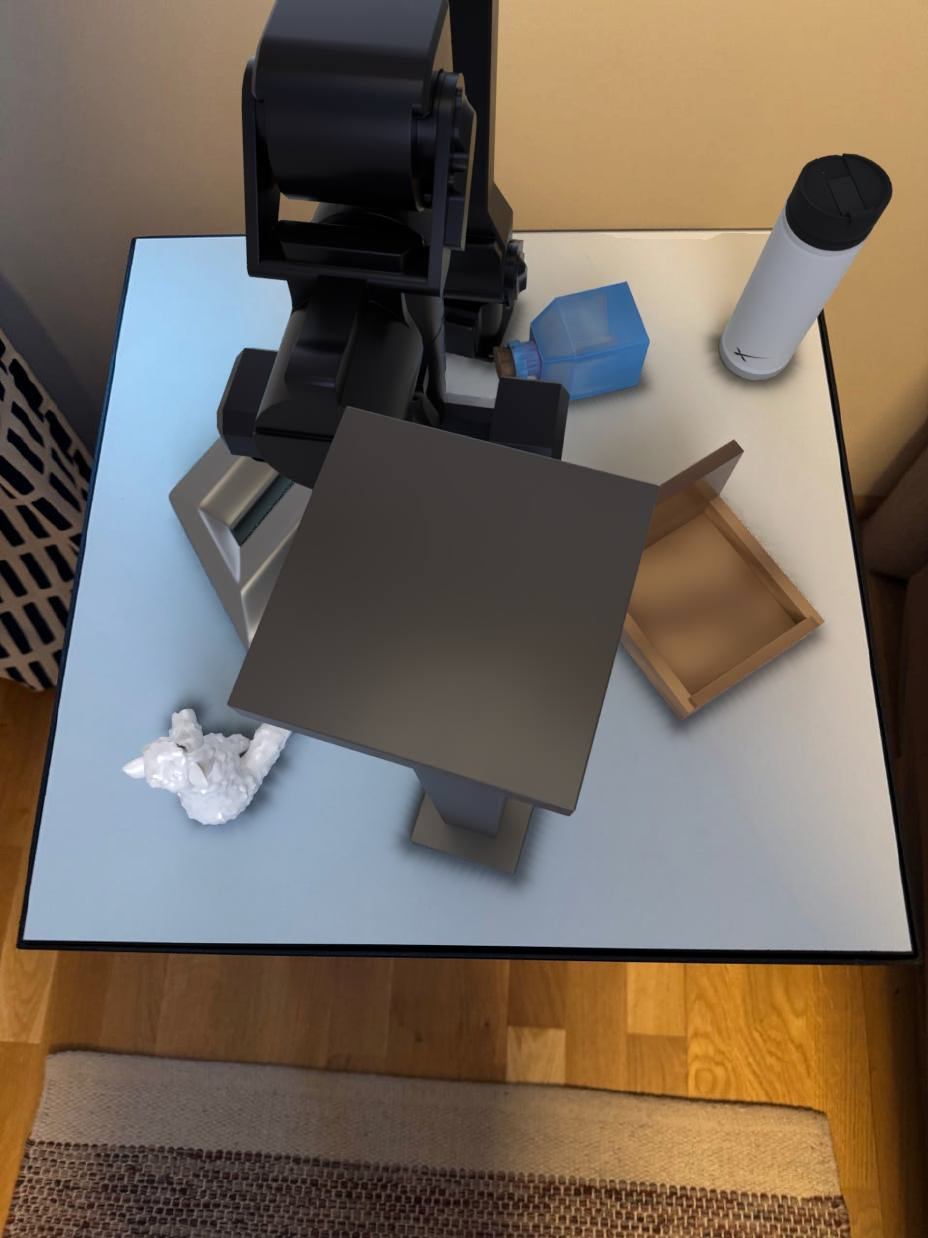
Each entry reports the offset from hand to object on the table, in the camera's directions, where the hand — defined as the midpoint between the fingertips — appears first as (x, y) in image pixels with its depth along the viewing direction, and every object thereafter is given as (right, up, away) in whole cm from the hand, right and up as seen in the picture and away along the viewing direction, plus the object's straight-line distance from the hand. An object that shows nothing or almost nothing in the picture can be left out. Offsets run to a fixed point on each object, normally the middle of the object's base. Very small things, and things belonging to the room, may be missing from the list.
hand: (406, 502), depth 54 cm
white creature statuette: (-14, -19, +11) cm, 26 cm away
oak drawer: (+22, -7, +14) cm, 27 cm away
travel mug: (+30, +16, +21) cm, 40 cm away
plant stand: (+5, -22, +9) cm, 24 cm away
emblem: (-7, +1, +17) cm, 19 cm away
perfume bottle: (+18, +17, +18) cm, 31 cm away
